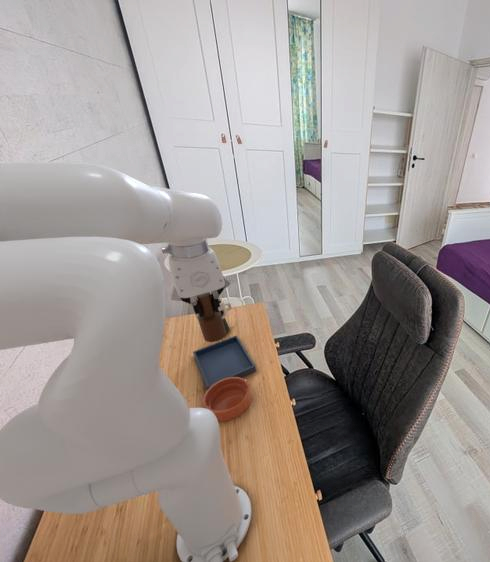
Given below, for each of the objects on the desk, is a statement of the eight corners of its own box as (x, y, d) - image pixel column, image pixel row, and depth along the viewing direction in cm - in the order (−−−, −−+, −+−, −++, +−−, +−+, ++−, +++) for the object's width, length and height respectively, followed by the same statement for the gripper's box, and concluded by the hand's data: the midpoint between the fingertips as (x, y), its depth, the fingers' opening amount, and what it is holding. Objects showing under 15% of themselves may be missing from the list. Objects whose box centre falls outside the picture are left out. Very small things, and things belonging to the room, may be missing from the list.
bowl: (258, 406, 76) (255, 397, 74) (212, 431, 70) (209, 421, 68) (244, 380, 84) (241, 370, 82) (201, 399, 77) (198, 390, 75)
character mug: (204, 343, 95) (194, 312, 89) (200, 331, 100) (191, 301, 94) (238, 332, 101) (231, 302, 95) (233, 321, 106) (226, 292, 100)
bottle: (228, 336, 77) (217, 296, 71) (206, 344, 74) (193, 303, 68) (222, 326, 81) (212, 286, 74) (201, 333, 78) (188, 292, 71)
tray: (256, 372, 86) (255, 366, 85) (209, 394, 79) (206, 387, 77) (238, 340, 97) (236, 335, 96) (194, 357, 90) (192, 351, 88)
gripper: (147, 262, 57) (174, 332, 67) (232, 245, 67) (245, 308, 76) (143, 249, 62) (168, 316, 71) (223, 235, 72) (236, 296, 81)
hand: (208, 311), depth 74 cm, fingers closed on bottle, 3 cm apart
